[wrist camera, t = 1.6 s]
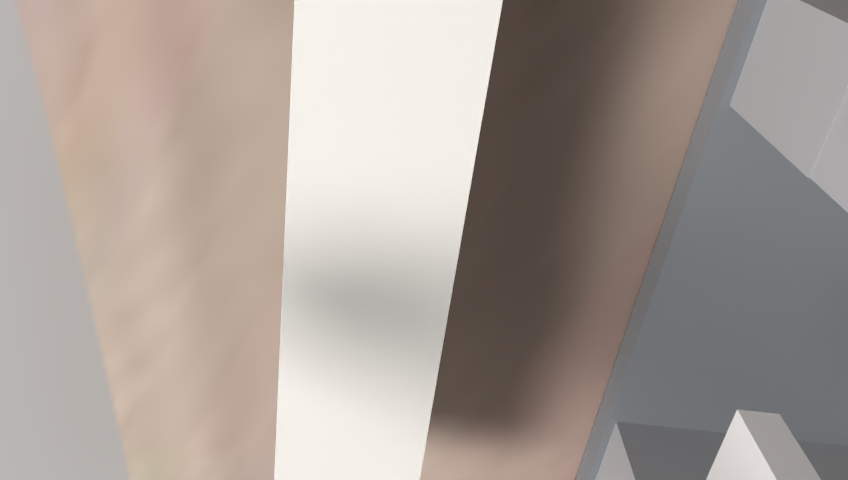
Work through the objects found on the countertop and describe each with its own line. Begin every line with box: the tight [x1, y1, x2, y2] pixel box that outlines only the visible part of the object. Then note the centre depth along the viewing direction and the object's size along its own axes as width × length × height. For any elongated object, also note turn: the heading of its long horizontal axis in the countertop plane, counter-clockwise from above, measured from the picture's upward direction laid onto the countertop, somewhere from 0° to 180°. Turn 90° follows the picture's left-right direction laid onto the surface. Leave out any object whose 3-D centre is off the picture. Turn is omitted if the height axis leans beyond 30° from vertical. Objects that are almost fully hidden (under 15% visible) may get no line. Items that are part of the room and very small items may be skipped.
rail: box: [274, 0, 503, 480], centre depth 20 cm, size 18×4×5 cm, turn 173°
